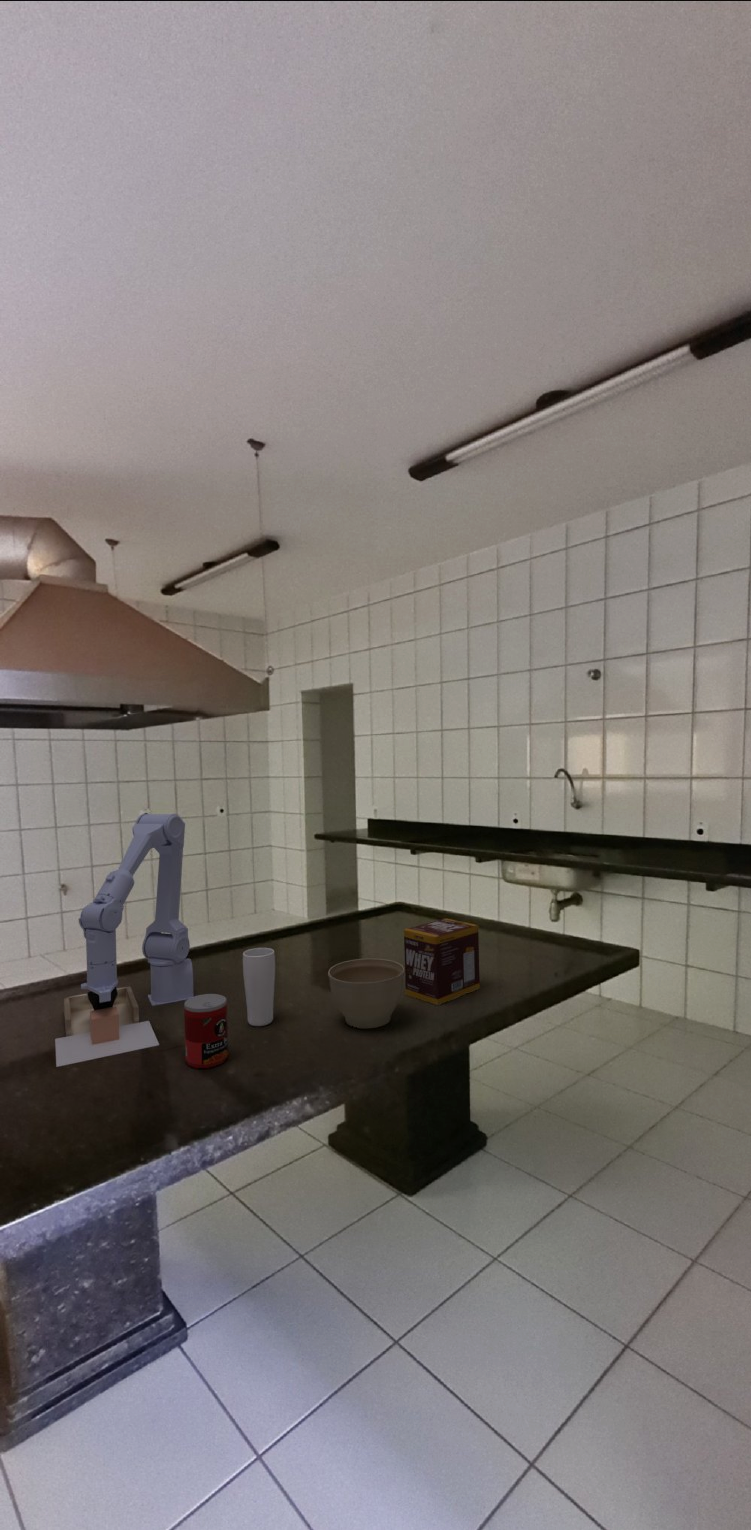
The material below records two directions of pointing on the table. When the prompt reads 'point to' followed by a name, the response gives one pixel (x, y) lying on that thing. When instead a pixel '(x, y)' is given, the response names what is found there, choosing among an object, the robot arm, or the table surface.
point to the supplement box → (441, 960)
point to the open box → (80, 1009)
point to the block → (104, 1025)
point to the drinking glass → (259, 984)
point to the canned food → (206, 1030)
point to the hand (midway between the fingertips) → (103, 1026)
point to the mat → (104, 1044)
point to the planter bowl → (366, 990)
